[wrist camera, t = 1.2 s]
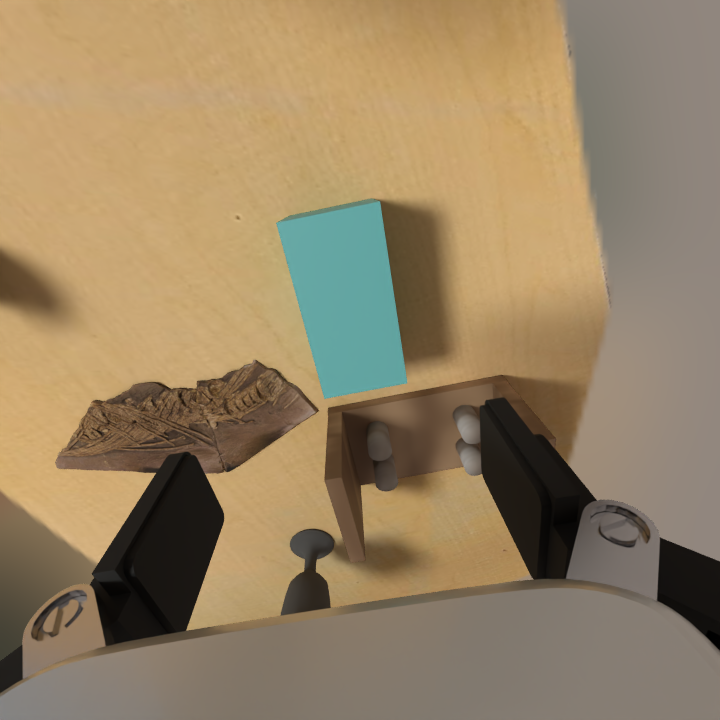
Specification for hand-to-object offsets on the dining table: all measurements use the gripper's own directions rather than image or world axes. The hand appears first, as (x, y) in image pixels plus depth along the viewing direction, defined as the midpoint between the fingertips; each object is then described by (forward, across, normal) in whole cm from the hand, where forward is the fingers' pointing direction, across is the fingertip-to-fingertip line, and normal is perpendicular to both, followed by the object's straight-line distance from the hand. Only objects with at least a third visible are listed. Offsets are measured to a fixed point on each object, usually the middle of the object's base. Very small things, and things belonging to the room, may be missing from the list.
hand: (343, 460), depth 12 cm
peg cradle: (+18, -5, +14) cm, 24 cm away
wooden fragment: (+19, +17, +10) cm, 28 cm away
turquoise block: (+19, -1, -1) cm, 19 cm away
